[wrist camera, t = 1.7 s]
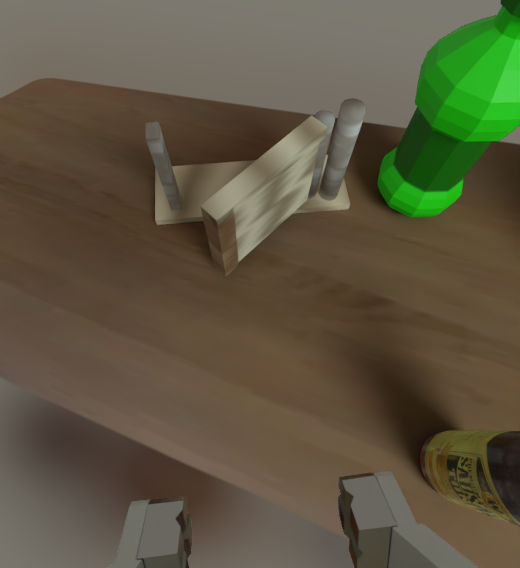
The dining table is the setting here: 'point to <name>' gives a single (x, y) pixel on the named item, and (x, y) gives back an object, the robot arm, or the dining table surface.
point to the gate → (266, 192)
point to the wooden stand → (212, 177)
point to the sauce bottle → (476, 470)
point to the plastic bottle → (456, 113)
